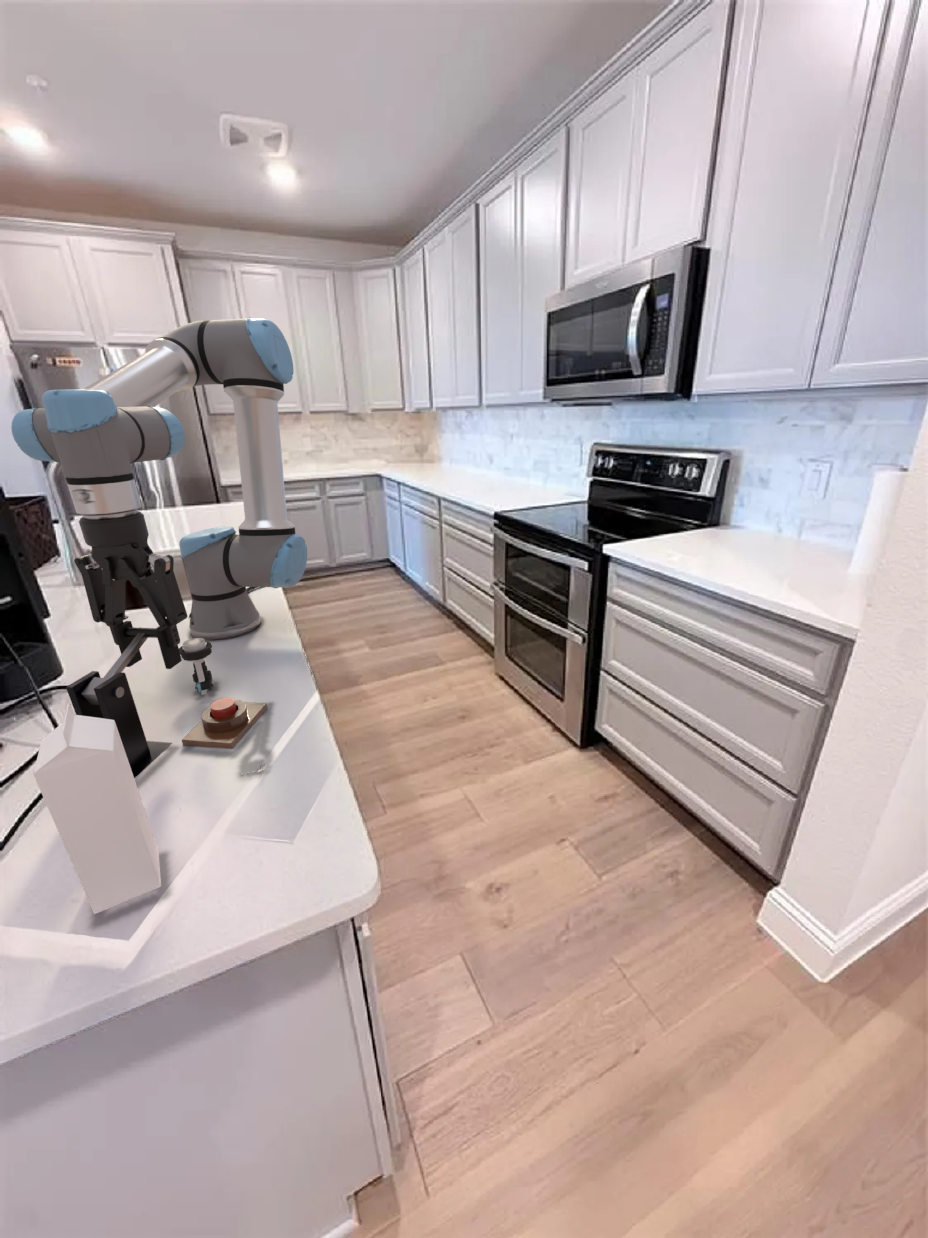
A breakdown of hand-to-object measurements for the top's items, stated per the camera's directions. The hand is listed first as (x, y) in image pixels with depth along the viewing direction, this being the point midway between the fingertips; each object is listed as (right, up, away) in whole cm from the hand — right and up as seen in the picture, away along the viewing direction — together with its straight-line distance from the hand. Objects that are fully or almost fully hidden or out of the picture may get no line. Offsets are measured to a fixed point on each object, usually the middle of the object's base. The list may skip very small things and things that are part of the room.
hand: (153, 663), depth 78 cm
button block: (+10, -11, +3) cm, 15 cm away
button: (+10, -8, +2) cm, 13 cm away
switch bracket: (-1, -15, -5) cm, 16 cm away
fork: (+16, -13, +2) cm, 20 cm away
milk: (+12, -22, -23) cm, 34 cm away
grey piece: (+1, -7, +15) cm, 16 cm away
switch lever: (-1, 0, -5) cm, 5 cm away
